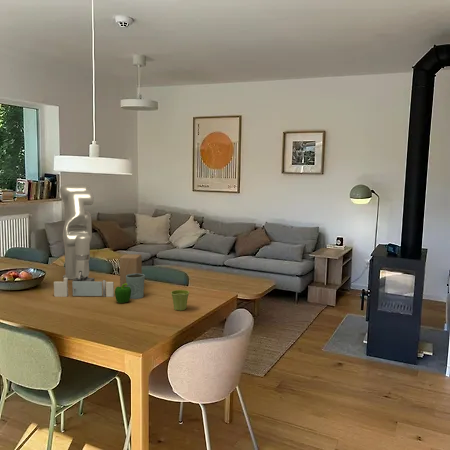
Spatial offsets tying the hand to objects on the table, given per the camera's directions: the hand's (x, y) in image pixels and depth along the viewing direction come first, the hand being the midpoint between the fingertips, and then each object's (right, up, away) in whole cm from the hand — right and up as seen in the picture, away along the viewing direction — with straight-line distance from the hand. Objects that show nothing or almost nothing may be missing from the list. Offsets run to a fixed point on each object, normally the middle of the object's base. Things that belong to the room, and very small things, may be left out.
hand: (83, 287), depth 252 cm
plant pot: (+57, -7, -28) cm, 64 cm away
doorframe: (+3, -4, -8) cm, 9 cm away
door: (+5, -3, -9) cm, 10 cm away
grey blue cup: (+31, -4, -7) cm, 32 cm away
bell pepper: (+26, -5, -17) cm, 32 cm away
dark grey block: (0, -2, 0) cm, 2 cm away
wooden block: (+26, -2, +6) cm, 26 cm away
